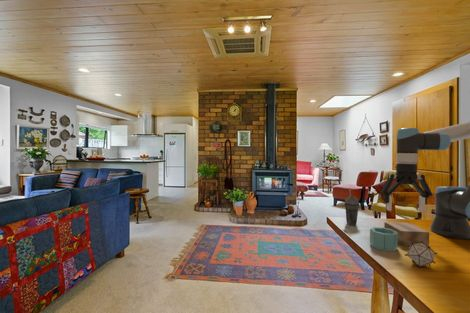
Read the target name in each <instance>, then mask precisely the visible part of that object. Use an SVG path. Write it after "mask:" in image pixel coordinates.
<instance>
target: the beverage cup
mask: <svg viewBox="0 0 470 313" xmlns="http://www.w3.org/2000/svg"><path fill="white" fill-rule="evenodd" d="M348 191H349V196H347V197H346V198H345V200H344V207H345V218H346V220H345V221H346V225H348V226H352V227H354V226H357V223H358V222H357V221H358V214H359V207H360V201H359V199H358V198H357V197H356V196H354V195H352V193H351V188H349V190H348Z"/></svg>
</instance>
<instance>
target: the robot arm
mask: <svg viewBox="0 0 470 313" xmlns="http://www.w3.org/2000/svg"><path fill="white" fill-rule="evenodd" d="M396 132H397V134H396V157H395V158H396V164H395V172H396V173H395V174H394V173H388V175H387V179H386V180H385V182H384V184H383V186H382V188H381V190H380V191H379V193H380V194H381V195H384V203H385V204H386V206H385V207H386V209H385V210H387V211H389V212H392V209H393V208H392V207H393V206H392V204H393V202H392V200H393V196H391V195H392V194H393V193H394V192H395V191H396V190H397V189H398V188H399V187H400V186H401V185H412V186H413V188H414V189H415V190H416V192H418V194H419V196H418V197H419V198H418V212H421V213H425V212H426V205H427V204H428V199H429V197H432V196H433V193H432V191H431V188H430V187H429V184H428V183H427V181H426V175H425V174H421V173H418V164H417V163H418V159H419V158H418V157H419V156H418V152H419V151H445V150H447V149H449V147H450V146H451V144H452V142H457V141H462V140H466V139H470V121H467V122H463V123H457V124H455V125H449V126H446V127H442V128H436V129H433V130H428V131H424V132H419V129H418V128H417V127H402V128H399V129H397V131H396ZM417 173H418V174H417ZM395 179H396V180H395ZM394 180H395V181H394ZM417 180H418V181H419V183H420V185H421V186H420V185H419V183H418V182H417ZM393 181H394V182H393ZM434 195H435V201H434V202H435V206H434V207H435V210H434V211H435V212H434V217H433V220H432V222H431V224H430V226H429V229H430V232H432V233H434V234H436V235H439V236H442V237H446V238H452V239H459V240H470V223H469V219H470V184H469V185H468V186H467V187H466V186H437V187H436V189H435V193H434Z"/></svg>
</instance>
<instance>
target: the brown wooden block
mask: <svg viewBox="0 0 470 313" xmlns="http://www.w3.org/2000/svg"><path fill="white" fill-rule="evenodd" d="M383 225H384V227H383V228H387V229H392V230H394V231H396V232H397V233H398V246H403V245H405V246H411V245H412V244H411V242H412V243H413V244H416V243H421V241H423V244H424V245H426V246H427V247H429V246H430V232H429V231H427V229H423V228H421V227H419V226H417V225H415V224H413V223H410V222H399V221H398V222H395V221H384V224H383ZM405 246H404V247H405Z"/></svg>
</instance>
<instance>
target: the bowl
mask: <svg viewBox="0 0 470 313" xmlns="http://www.w3.org/2000/svg"><path fill="white" fill-rule="evenodd" d="M369 244H370V246H371V247H372V248H374V249H376V250H379V251H384V252H396V251H397V249H398V247H399V244H398V233H397V232H396V231H394V230H392V229H387V228H384V227H383V226H382V227H381V226H379V227H378V226H373V227H370V229H369Z"/></svg>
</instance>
